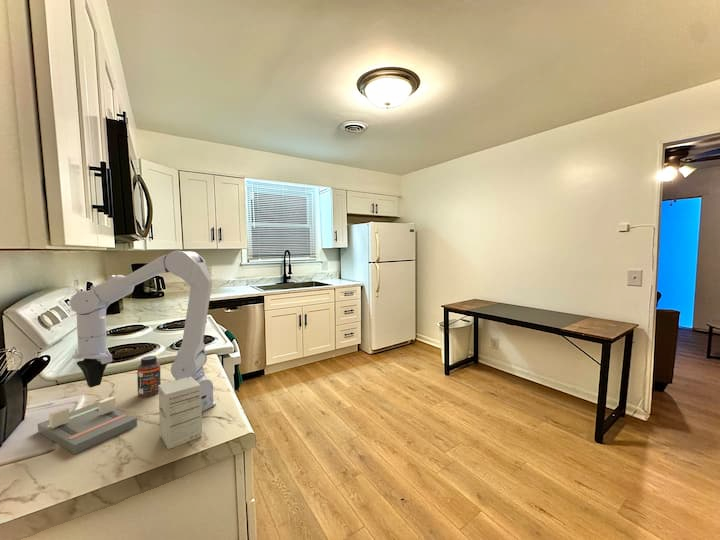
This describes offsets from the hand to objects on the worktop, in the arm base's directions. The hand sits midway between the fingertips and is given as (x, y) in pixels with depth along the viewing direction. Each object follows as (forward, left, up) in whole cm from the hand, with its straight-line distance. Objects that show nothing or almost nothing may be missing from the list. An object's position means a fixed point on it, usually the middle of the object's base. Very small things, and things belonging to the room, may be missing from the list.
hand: (94, 385), depth 79 cm
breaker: (-2, +8, -6) cm, 10 cm away
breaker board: (-6, +4, -8) cm, 11 cm away
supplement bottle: (+1, -14, -8) cm, 16 cm away
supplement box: (-30, -4, -8) cm, 31 cm away
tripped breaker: (-6, 0, -6) cm, 8 cm away
